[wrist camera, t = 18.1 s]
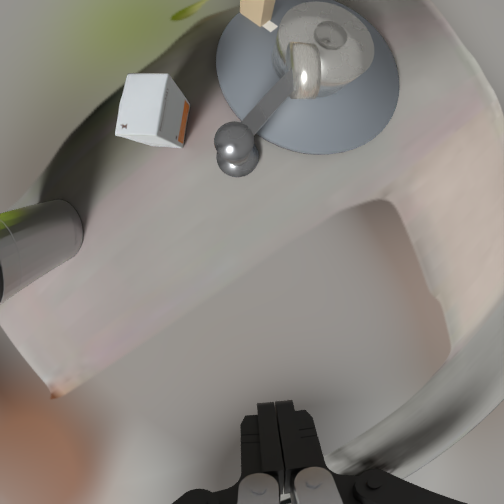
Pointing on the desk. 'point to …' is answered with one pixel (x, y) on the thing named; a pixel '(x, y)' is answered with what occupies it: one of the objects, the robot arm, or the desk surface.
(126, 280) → the desk surface
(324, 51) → the cover
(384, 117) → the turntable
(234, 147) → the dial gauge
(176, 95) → the skincare box
